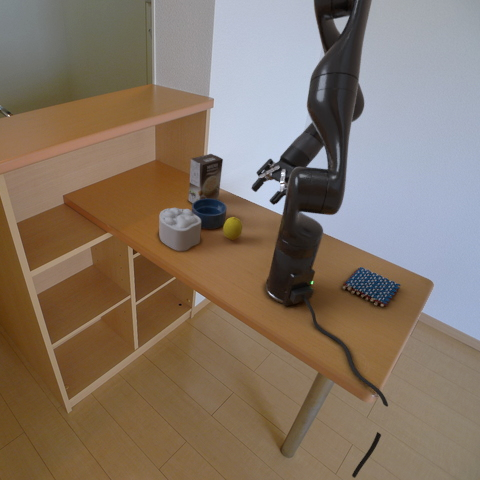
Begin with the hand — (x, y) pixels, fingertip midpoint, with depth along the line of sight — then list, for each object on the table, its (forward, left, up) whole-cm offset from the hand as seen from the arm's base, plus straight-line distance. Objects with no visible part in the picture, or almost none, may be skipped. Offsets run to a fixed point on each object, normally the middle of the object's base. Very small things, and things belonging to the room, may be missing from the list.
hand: (262, 196), depth 106 cm
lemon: (-1, +9, -13) cm, 16 cm away
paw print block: (+6, +24, -13) cm, 28 cm away
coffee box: (+24, +7, -13) cm, 28 cm away
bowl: (+11, +11, -13) cm, 20 cm away
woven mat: (-32, -13, -13) cm, 37 cm away
